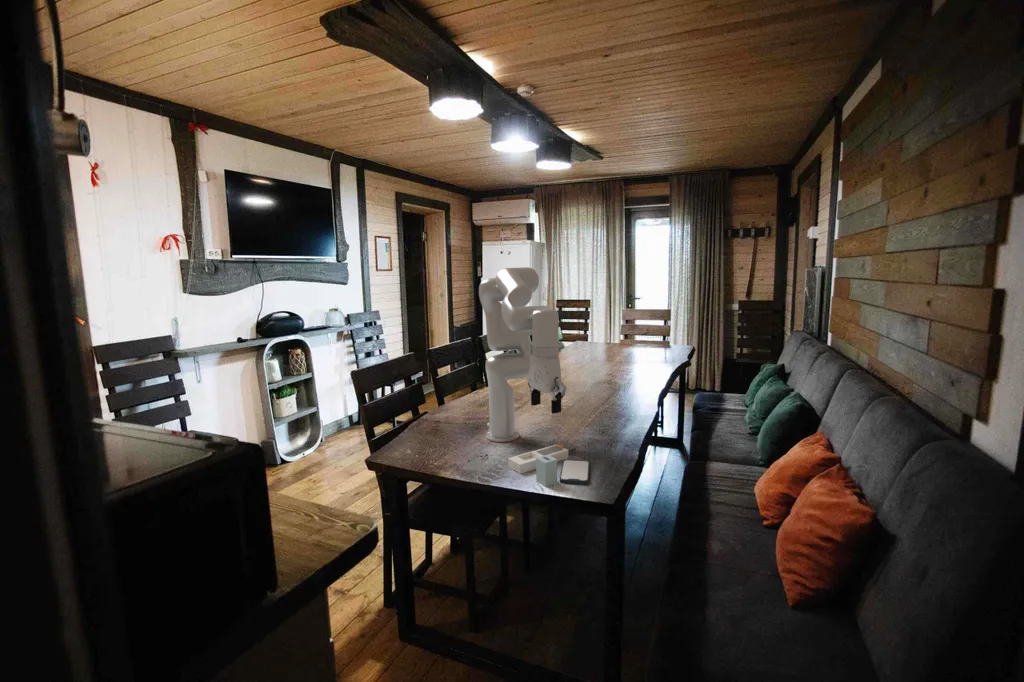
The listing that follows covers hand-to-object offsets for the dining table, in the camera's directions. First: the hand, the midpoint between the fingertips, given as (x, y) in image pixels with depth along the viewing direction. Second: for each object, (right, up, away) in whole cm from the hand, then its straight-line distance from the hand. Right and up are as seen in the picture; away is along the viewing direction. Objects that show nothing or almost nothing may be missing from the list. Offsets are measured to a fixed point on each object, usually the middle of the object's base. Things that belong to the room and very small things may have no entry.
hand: (545, 408), depth 147 cm
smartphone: (+10, -22, +10) cm, 26 cm away
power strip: (+1, -20, +20) cm, 28 cm away
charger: (+1, -23, +4) cm, 23 cm away
